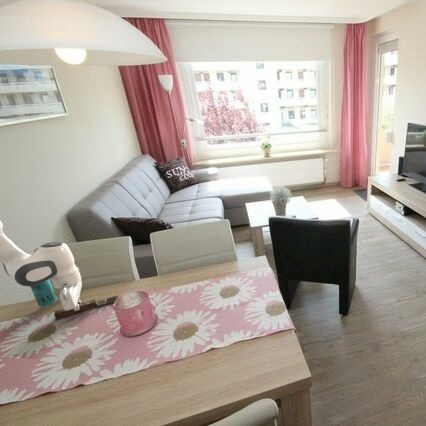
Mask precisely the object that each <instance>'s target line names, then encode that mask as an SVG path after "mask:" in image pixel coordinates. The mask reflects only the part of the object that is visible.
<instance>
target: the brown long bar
mask: <svg viewBox="0 0 426 426" xmlns="http://www.w3.org/2000/svg"><path fill="white" fill-rule="evenodd" d="M116 299H117V300H118V296H117V295H114V296H111V297H108V298H105V299H101V300H97V298H95V299H92V300H88V301H85V302H81V304H78V305H79V306H80V309H79V310H77V311H74V309H71V310H68V311H65V310H64V308H62V309H59V310H55V311H54V314H53V315H54V317H55V320H56V321H57V320H61V319H65V318H67V317H70V316H73V315H77V314H80V313H84V312H87V311H90V310H93V309H96V308H97V309H99V308H101V307H102V308H103V307H105V306H109V305H113V304H115V303H114V302H115V300H116Z"/></svg>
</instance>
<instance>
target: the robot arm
mask: <svg viewBox="0 0 426 426" xmlns="http://www.w3.org/2000/svg"><path fill="white" fill-rule="evenodd" d="M0 262H1V263H2V266H3V270H4V272H5V274H6V275H7V276H8V277H11V278H12V280H14V281H15V282H16V283H17V284H18V285H20V286H23V287H30V286H35V285H38V284H40V283H42V282H44V281H46V280H48V279H49V280H50V282H51V284H52V287H53V289H57V290H59V291H60V292H59V299H60V303H61V306H62V309H64V310H65V311H68V310H71V309H74V311H77V310H79V309H80V306H79V305H78V304H81V303H82V301H81V296H80V294H81V291H82V287H83V283H82V275H81V270H80V268H79V267H78V266H77V265H76V264H75V258H74V255H73V252H72V250H71V249H70V247H69V246H68V244H66V243H64V242H61V241H51V242H46V243H43V244H42V245H40V246H39V248H38V249H37V250H35V252H33V253H31V252H27V251H24V250H22V249H21V248H20V247H19V246H17V245H16V244H15V243H14V242H13V241H12V240H11V239H10V238H8V236H6V234H5V232H4V224H3V222H2V221H1V220H0Z"/></svg>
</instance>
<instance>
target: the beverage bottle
mask: <svg viewBox="0 0 426 426" xmlns="http://www.w3.org/2000/svg"><path fill="white" fill-rule="evenodd" d="M29 287H30V290H31V291H32V294H33V296H34V299H35V301H36V304H37V306H39V307H41V308H42V307H47V306H51V305H53V304H54V303H56V302H57V300H58V296H57V294H56V292H55V289H54V286H53V284H52V282H51V279H48V280H46V281H44V282H42V283H40V284H38V285H35V286H29Z"/></svg>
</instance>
